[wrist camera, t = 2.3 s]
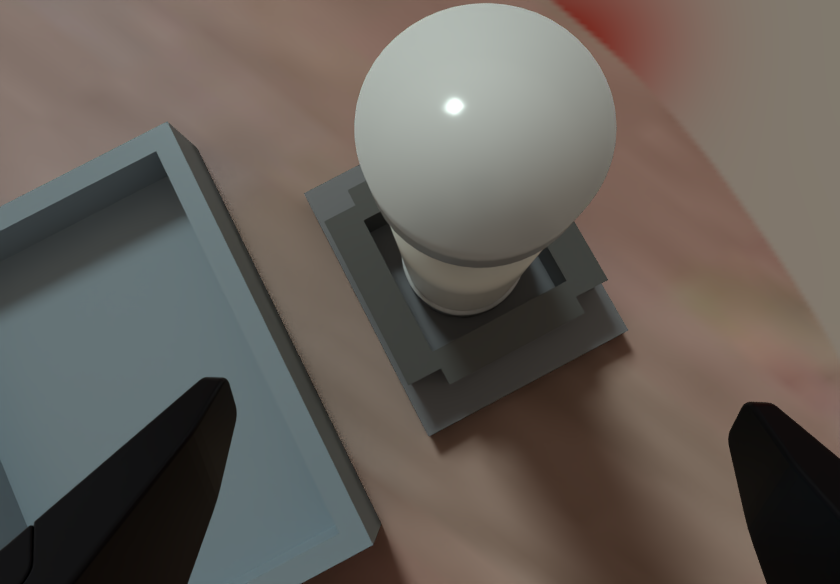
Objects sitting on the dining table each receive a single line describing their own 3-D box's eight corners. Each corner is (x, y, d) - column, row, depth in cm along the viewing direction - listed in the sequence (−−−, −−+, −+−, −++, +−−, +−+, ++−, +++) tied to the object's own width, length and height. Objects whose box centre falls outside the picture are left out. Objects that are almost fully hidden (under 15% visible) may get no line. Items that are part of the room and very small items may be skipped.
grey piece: (621, 331, 22) (645, 326, 19) (429, 433, 21) (427, 442, 19) (491, 105, 23) (497, 71, 20) (308, 199, 23) (291, 178, 20)
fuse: (541, 283, 21) (666, 175, 9) (437, 338, 21) (429, 299, 9) (485, 184, 22) (534, -40, 10) (384, 236, 22) (310, 76, 10)
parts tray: (381, 524, 21) (373, 545, 19) (80, 685, 21) (31, 728, 18) (196, 147, 23) (167, 121, 21) (-79, 289, 23) (-143, 279, 20)
